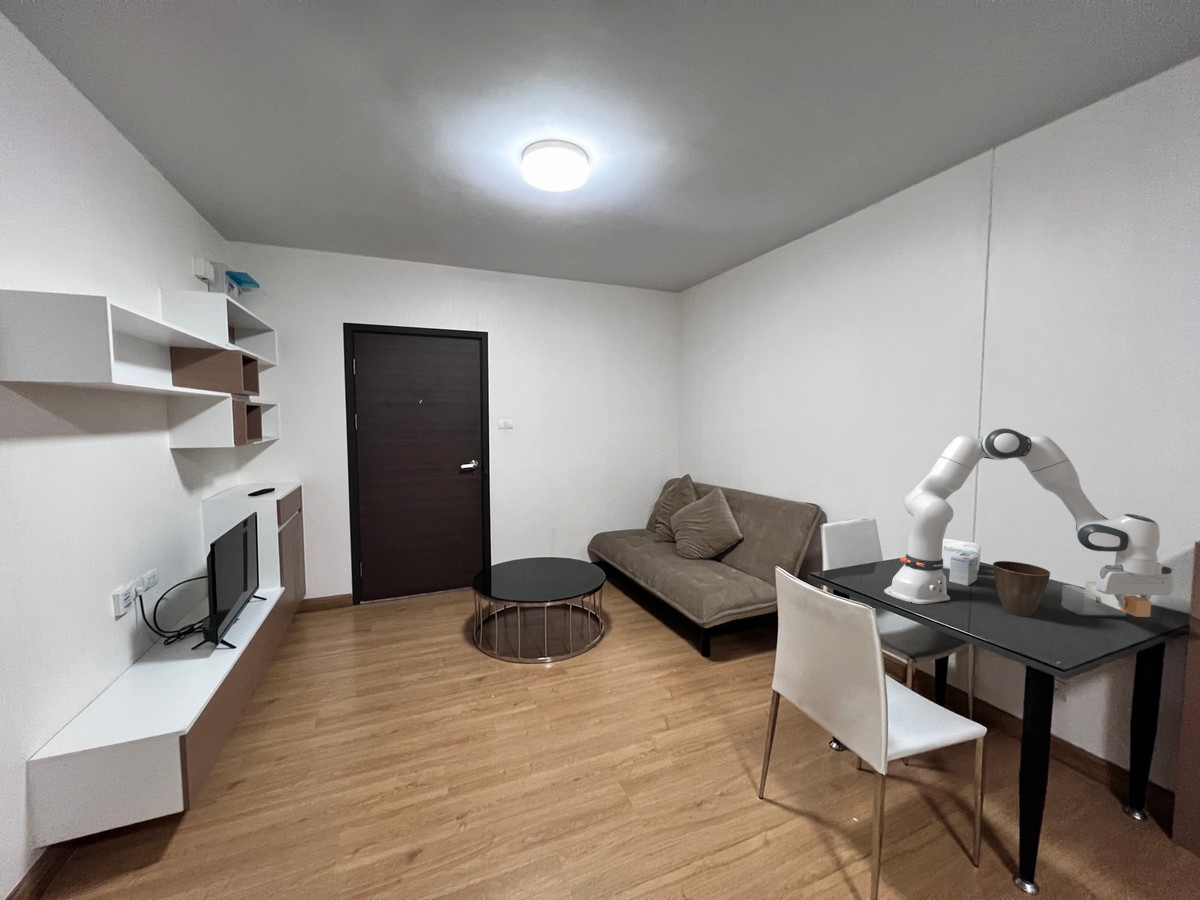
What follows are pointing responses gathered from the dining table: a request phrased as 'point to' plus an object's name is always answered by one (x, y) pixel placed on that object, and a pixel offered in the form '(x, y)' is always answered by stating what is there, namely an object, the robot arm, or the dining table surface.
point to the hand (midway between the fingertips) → (1131, 607)
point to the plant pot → (1020, 586)
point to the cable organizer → (958, 550)
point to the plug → (1135, 604)
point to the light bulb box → (963, 568)
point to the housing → (1086, 603)
